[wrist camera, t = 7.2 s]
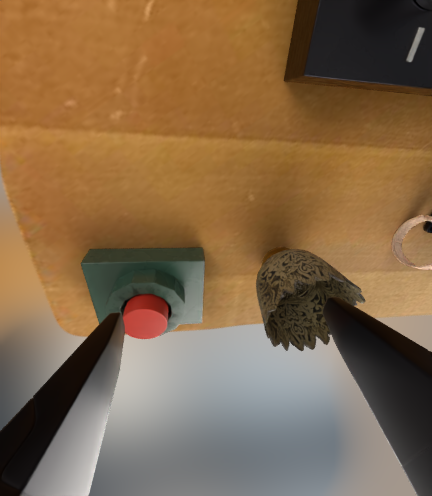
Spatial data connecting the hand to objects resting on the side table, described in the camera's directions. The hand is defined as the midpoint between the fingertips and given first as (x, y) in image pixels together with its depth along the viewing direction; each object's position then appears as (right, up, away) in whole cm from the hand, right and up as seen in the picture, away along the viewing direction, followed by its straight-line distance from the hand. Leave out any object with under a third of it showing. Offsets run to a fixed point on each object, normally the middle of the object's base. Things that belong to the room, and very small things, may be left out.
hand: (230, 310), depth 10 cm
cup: (+6, +2, +14) cm, 15 cm away
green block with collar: (-7, -1, +13) cm, 15 cm away
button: (-7, -3, +10) cm, 12 cm away
